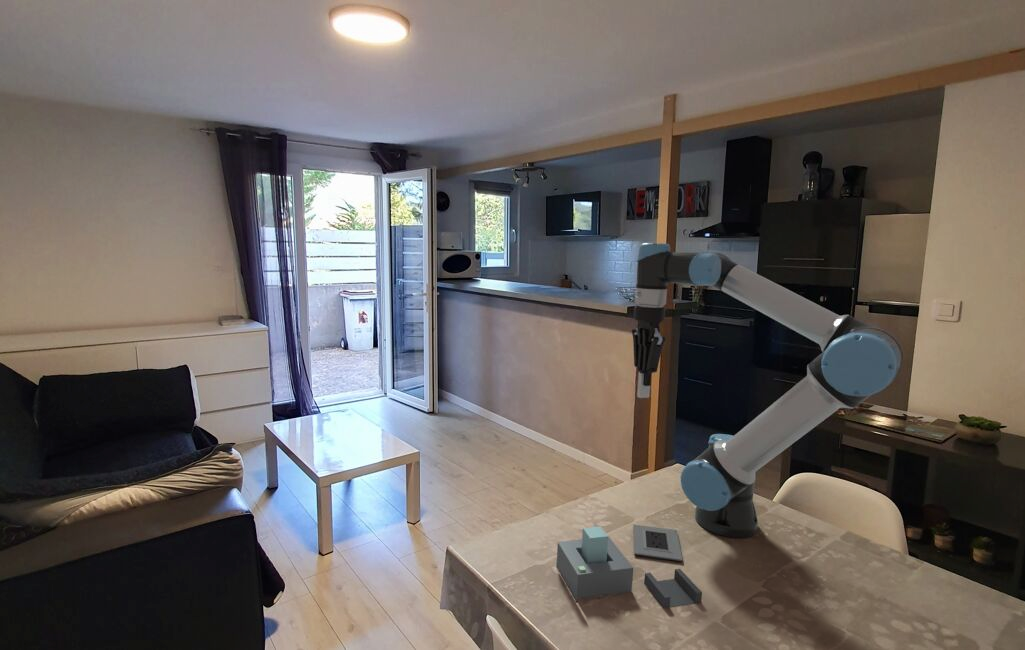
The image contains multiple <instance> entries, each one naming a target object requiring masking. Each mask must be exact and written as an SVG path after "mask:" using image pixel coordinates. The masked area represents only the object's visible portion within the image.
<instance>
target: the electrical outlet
mask: <svg viewBox="0 0 1025 650" xmlns="http://www.w3.org/2000/svg"><path fill="white" fill-rule="evenodd" d="M632 528H633V529H632V530H633V532H632V533H633V534H632V535H633V551H634V552H633V555H634V556H637V557H644V558H651V559H659V560H664V561H665V560H666V561H672V562H678V563H682V562H683V561H684V560H683V559H684V558H683V555H682V554H683V553H682V549H681V544H680V540H679V534H678V530H677V529H673V528H672V529H671V528H664V527H656V526H648V525H647V526H646V525H641V524H633V527H632Z"/></svg>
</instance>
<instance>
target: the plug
mask: <svg viewBox="0 0 1025 650" xmlns="http://www.w3.org/2000/svg"><path fill="white" fill-rule="evenodd" d="M608 536H609V535H608V534H607V533H606V532H605V530H604V529H603V528H602V526H592V527H591V526H590V527H589V526H588V527H582V538H581V539H582V552H581V557H582V558H583V560H584V561H585V563H586V564H592V563H600V562H607V548H608Z"/></svg>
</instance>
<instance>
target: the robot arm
mask: <svg viewBox="0 0 1025 650" xmlns="http://www.w3.org/2000/svg"><path fill="white" fill-rule="evenodd" d="M638 248H639V249H638V255H637V256H638V257H637V260H636V263H637V268H636V284H635V285H636V286H635V292H634V296H635V299H634V302H635V304H636V305H635V306H634V309H633V320H634V321H637V325H636V328H635V329H634V328H633V329H631V334H632V343H633V345H632V346H633V365H634V367H635V368H636V369H637V371H638V377H637V378H638V379H637V391H636V392H637V393H636V397H637V398H639V399H649V398H650V395H651V394H650V392H651V381H652V374H654V373H657V372H658V369H659V364H660V358H661V353H662V350H663V346H664V343H665V341H666V337H665V336H661V334H660V333H661V328H660V324H661V323H663V322H665V320H666V319H665V318H666V307H665V305H667V294H668V284H680V285H690V286H691V285H693V286H697V287H707V286H708V287H714V288H716V289H717V290H719V291H721V292H723V293H725V294H727V295H729V296H731V298H734V299H736V300H738V301H739V302H742V303H743V304H745V305H747V306H748V307H751V308H752V309H753V310H756V311H758V312H760V313H762V314H763V315H765V316H767V317H769V318H771V319H772V320H774V321H775V322H778V323H779V324H782V325H783V326H786V327H787V328H788V329H790V330H791V331H792V330H793V331H795V332H796V333H798V334H799V335H801V336H803V337H806V339H809V340H810V341H812V342H815V343H816V344H818V345H819V347H820V349H821V352H822V353H820V354H819V355H818V356H817V357H815V358H814V359H813V360H812V361H810V363H808V364H807V366H806V376H805V377H804V378H802V379H801V380H800V381H798V382H797V383H796V384H795V385H794V386H792V388H791V389H789V390H788V391H786V392H785V393H784V394H783V395H782V396H780V397H779V398H778V399H777V400H776V401H774V402H773V403H772V404H771V405H769V406H768V407H767V408H766V409H765V410H764V411H762V412H761V413H760V414H759V415H757V416H756V417H755V418H754V419H752V420H751V421H750V422H749V423H748V424H746V425H745V426H744V427H743V428H741V429H740V431H738V432H737V433H735V434H734V435H732V434H727V433H726V434H724V433H715V434H711V435H710V437H709V440H708V442H707V443H708V448H706V449H705V450H704V451H702V453H700V455H698V456H697V457H696V458H694V459H693V460H691V461H689V462H688V463H686V464H685V465H684V468H682V470H681V474H680V478H679V479H680V486H681V489H682V491H683V493H684V495H685V497H686V498H687V499H688V501H689V502H690V503H692V504H693V505H694V506H695V507H696V508H695V513H694V518H695V521H696V522H697V524H699V526H701V527H702V528H704V529H705V530H707V531H709V532H710V533H711V532H712V533H714V534H715V535H719V536H723V537H728V538H733V539H734V538H738V539H744V538H749V537H752V536H754V535H755V534H756V533H757V532H758V526H759V520H758V517H757V513H756V512H757V511H756V507H755V503H754V491H755V481H756V473H757V472H758V470H759V469H761V468H763V467H764V466H765V465H766V464H768V463H769V462H770V461H772V460H773V459H775V458H776V457H777V456H778V455H780V454H781V453H782V452H784V451H785V450H786V449H788V448H790V446H792V445H793V444H794V443H795V442H797V441H798V440H799V439H801V438H803V436H805V435H806V434H807V433H810V432H811V431H812V430H813V429H814V428H815V427H817V426H819V424H821V423H822V422H823V421H825V420H826V419H827V418H829V417H830V416H831V415H833V414H834V413H836V412H837V411H838V410H839V409H842V408H843V409H855V408H857V406H859V405H860V404H861V403H863V402H864V401H866V400H867V399H868V398H869V397H871V396H872V395H875V394H877V393H880V392H882V391H883V390H885V389H886V388H887V387H888V386H890V385H891V384H892V382H893V381H894V380H895V378H896V376H897V374H898V371H899V370H900V368H901V367H902V364H903V360H904V351H903V349H902V346H901V344H900V342H899V341H898V339H896V337H894V335H893V334H891V333H889V332H888V331H886V330H884V329H882V328H880V327H877V326H876V325H875V326H874V325H871V324H869V323H867V322H865V321H862V320H860V319H858V318H855V317H854V316H852V315H850V314H843V315H839V314H837V313H835V312H834V311H831V310H829V309H827V308H826V307H823V306H821V305H819V304H817V303H815V302H814V301H811V300H810V299H807V298H805V297H804V296H802V295H799V294H797V293H796V292H794V291H792V290H790V289H788V288H786V287H784V286H782V285H780V284H778V283H776V282H774V281H772V280H770V279H768V278H766V277H765V276H762V275H760V274H758V273H756V272H755V271H752V270H750V269H749V268H747V267H745V266H743V265H741V264H738V263H736V262H734V261H732V259H731V258H730V257H728V256H727V255H725V254H722V253H720V252H710V253H709V252H683V251H682V252H680V251H678V252H676V251H671V250H672V249H671V245H670V244H668V243H662V242H660V243H659V242H658V243H655V242H643V243H641V244H640V246H639V247H638Z"/></svg>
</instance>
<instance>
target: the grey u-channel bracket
mask: <svg viewBox="0 0 1025 650" xmlns="http://www.w3.org/2000/svg"><path fill="white" fill-rule="evenodd" d="M653 575H654V574H652V573H651V572H644V581H643V584H644V586H645V587H646V588H647V589H648V591H649V592H650V593H651V594H652V595H653V597H654V598H655V599H656V600H657V602H658V603H659V605H661V607H662V608H663V609H668V608H674V607H681V606H682V607H683V606H689V605H695V604H696V605H697V604H700V603H702V596H703V591H701V589H700V588H699V587H698V586H697V585H696V583H694V582H693V581H692V580H691V579H690V578H689V577H688V576H687V574H686V573H685V572H684V571H683V570H682V569H681V568H674V578H672V579H671V578H670V579H664V580H657V578H655V577H654V576H653Z"/></svg>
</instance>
